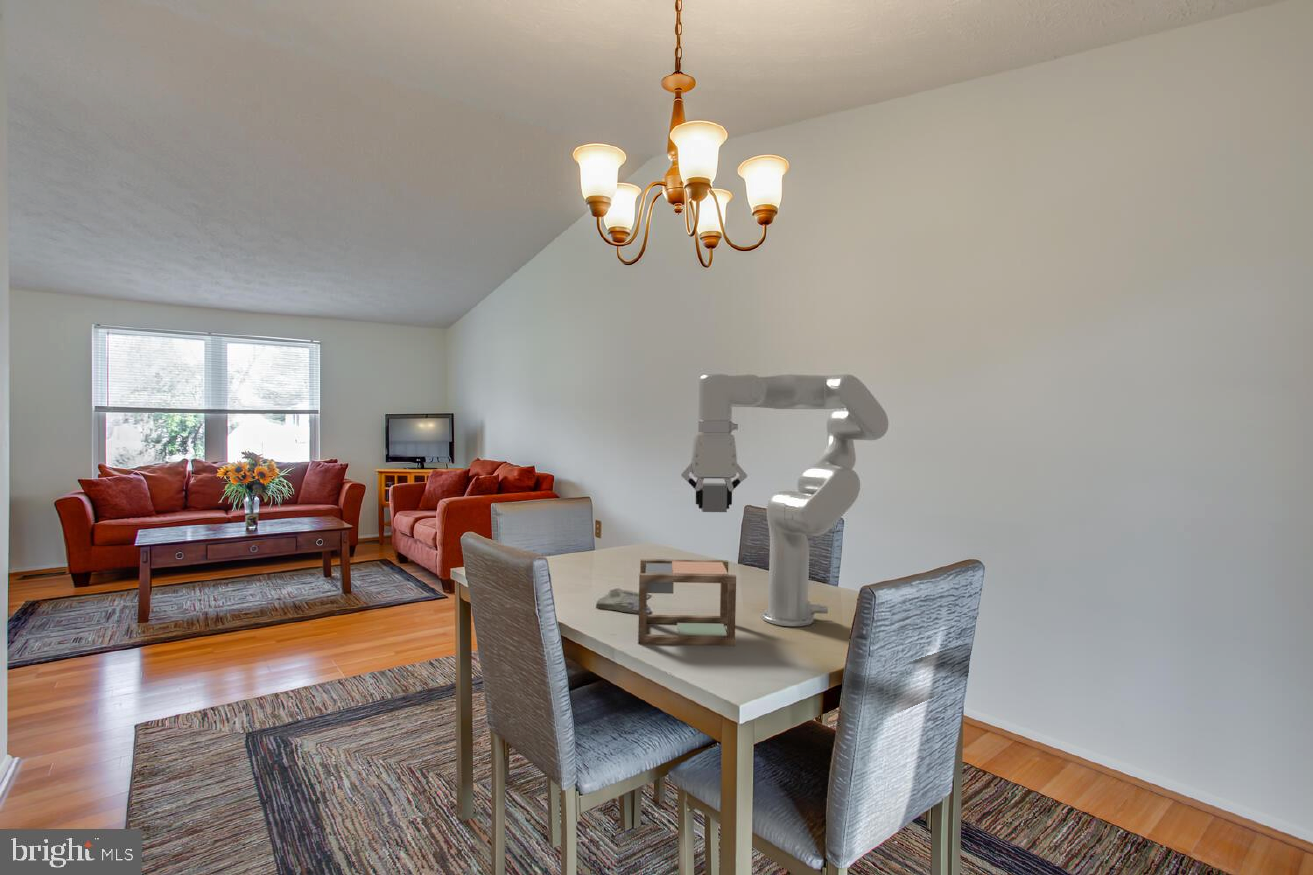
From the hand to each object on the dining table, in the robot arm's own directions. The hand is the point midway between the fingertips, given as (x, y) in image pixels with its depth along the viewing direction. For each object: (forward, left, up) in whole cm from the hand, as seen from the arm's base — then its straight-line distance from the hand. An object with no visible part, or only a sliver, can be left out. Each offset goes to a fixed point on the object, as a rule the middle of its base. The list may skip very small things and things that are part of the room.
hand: (713, 507), depth 148 cm
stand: (+6, 0, -29) cm, 30 cm away
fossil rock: (+20, -23, -30) cm, 42 cm away
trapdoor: (+6, 0, -18) cm, 19 cm away
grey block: (0, 0, -1) cm, 1 cm away
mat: (+2, 0, -29) cm, 29 cm away
